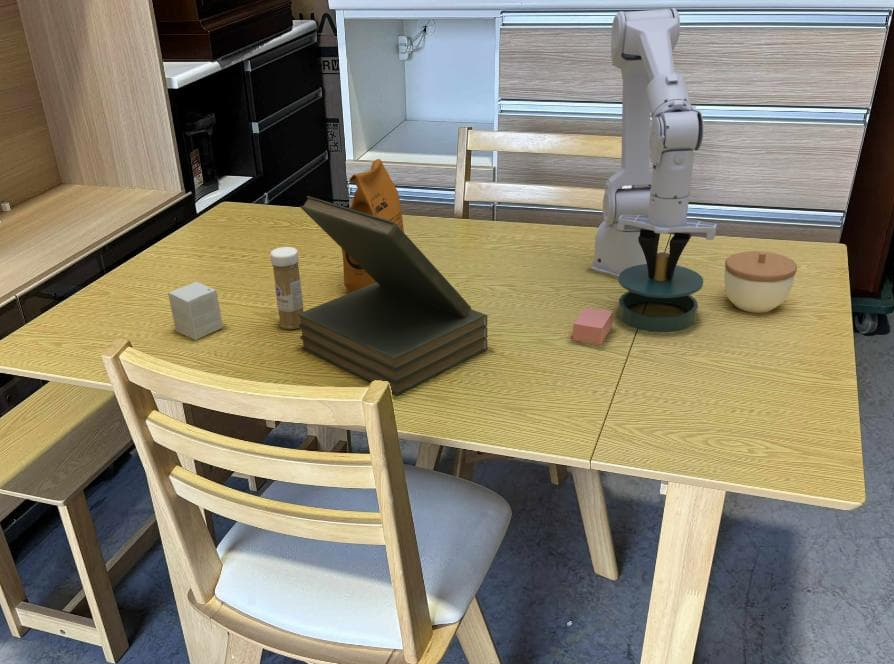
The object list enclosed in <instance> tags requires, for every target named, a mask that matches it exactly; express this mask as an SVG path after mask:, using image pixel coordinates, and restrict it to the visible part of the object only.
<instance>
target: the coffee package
mask: <svg viewBox="0 0 894 664" xmlns="http://www.w3.org/2000/svg"><path fill="white" fill-rule="evenodd" d="M349 182H350V183H355V186H356V190H355V192H354V195H353V198H352V202H351V205H350V207H349V208H350V209H353V210H356V211H359V212H363V213H366V214H369V215H373V216H376V217H379V218H382V219H386V220H389V221H392V222H395V223H396V224H397V225H398V226H399V228H400V229H401V230H402V231H403V232H404V233H405V228H404V219H403V211H402V205H401V199H400V196H399V191H398V190H397V186H396V185H395V182H394V181H393V180H392V178H391V175H390V174H389V172H388V170H387V168H386V167H385V166H384V164H383V161H382V159H381V158H376V159H375V160H373V161H372V163H371V165H370V170H367V171H363V172H358V173H354V174H352V175H351V177H349ZM341 252H342V253H341V254H342V264H343V265H342V266H343V285H344V287H345V289H346V290H347V292H348V293H351V292H353V291H356V290H358V289H361V288H363V287H366V286H368V285H371V284H373V283H375V282H376V281H375V280H374V279H373V278H372V277H371V276H370V275H369V274H368V273H367V272H366V271H365V270H364V269H363V268H362V267H361V266H360V265H359V264H357V263H356V262H355V261H354V260H353V259H352V258H351V257H350V256H349V255H348V254H347V253H346V252H345V251H344V250H343V249H342V248H341Z"/></svg>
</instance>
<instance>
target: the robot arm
mask: <svg viewBox="0 0 894 664" xmlns="http://www.w3.org/2000/svg"><path fill="white" fill-rule="evenodd" d="M680 31H681V16H680V14H679V12H678V11H677V9H676V8H675V7H670V8H666V9H665V8H664V9H651V10H649V9H648V10H637V11H618V12H617V13H616V14H615V16H614V17H613V20H612V27H611V33H610V34H611V35H610V37H611V38H610V43H611V44H610V59H611V65H612V67H615V68H617V69H619V70H620V73H621V79H622V98H621V99H622V101H621V103H622V105H621V107H622V108H621V109H622V110H621V156H620V157H621V160H620V161H621V163H620V164H621V165H620V169H619V170H617V172H615V173H614V174H613V175H611V176H610V177H609V178H608V179H607V180H606V181H605V184H604V194H603V199H602V215H603V216H602V217H603V221H602V222H601V223H600V225H599V226H598V228H597V231H596V234H595V238H594V251H593V252H594V254H593V266H591V267H590V268H591V269H592V270H596V271H600V272H603V273H605V274H610V275H613V276H616V277H619V275H620V273H621V272H622V271H623V270H625V269H627V268H629V267H633V266H636V265H642V264H647V268H648V277H649V278H653V277H654V268H655V258H656V254H657V253H658V249H659V243H660V237H661V235H673V236H672V237H671V238H670V240H669V253H668V254H669V264H668V269H667V275H666V280H671V279H672V277H673V275H674V271H675V267H676V265H677V264H678V262H679V260H680V257H681V255H682V253H683V252H684V249H685V248H686V246H687V245H688V243H689V242H690V240H691V238H692V237H694V238H704V239H706V240H708V241H714V239H715V238H716V234H717V233H716V232H717V227H718V224H717V223H714V222H707V221H701V220H698V219H693V218H688V209H689V202H690V195H691V194H690V193H691V187H692V186H691V184H692V175H693V168H694V162H695V152H697V151H699V150H700V149H701V146H702V143H703V139H704V132H705V129H704V128H705V127H704V126H705V125H704V117H703V113H702V111H701V110H700V109H699V108H697V106H696V105H692V103H691V99H690V96H689V92H688V88H687V85H686V81H685V79H684V77H683V76H682V75H681V74H679V73H676V70H675V64H674V57H673V51H675V48H676V45H677V44H678V42H679V38H680ZM651 121H652V122H651ZM650 146H651V147H650ZM650 150H651V151H650ZM694 151H695V152H694ZM650 162H651V163H652V169H650ZM645 185H646V186H645ZM628 186H645V187H628ZM621 187H622V188H621ZM623 187H624V188H623ZM625 187H626V188H625ZM627 187H628V188H627ZM677 266H678V265H677Z"/></svg>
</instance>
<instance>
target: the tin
mask: <svg viewBox="0 0 894 664" xmlns="http://www.w3.org/2000/svg"><path fill="white" fill-rule="evenodd" d="M641 303H643V304H644V303H662V304H663V303H664V304H671V305H674V306H677V307H680V308H682V309H684V310H686V311H687V312H685V313H681V314H678V315H670V316H655V315H648V314H643V313H639V312H636V311H634V310H631V309H630V308H628V307H630V306H634V305H636V304H641ZM698 310H699V304H698V300H697V299H696V298H695V297H694V296H693V295H692V294H691V295H687V296H682V297H675V298H656V297H648V296H643V295H639V294H635V293H632V292H630V291H628V290H627V291H626V292H624V293H623V294H621V296H620V297H619V298H618V309H617V318H619V320H620V321H621V323H623V324H625V325H627V326H628V327H630V328H633V329H636V330H639V331H644V332H651V333H672V332H679V331H682V330H685V329H688V328H690V327H692V326H693V325H694V324H695V323H696V320H697V318H698Z"/></svg>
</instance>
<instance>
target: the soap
mask: <svg viewBox="0 0 894 664" xmlns="http://www.w3.org/2000/svg"><path fill="white" fill-rule="evenodd" d="M613 317H614V311H613V310H606V309H599V308H593V307H592V308H591V307H584V308H583V310H582V312H581V313H580V314H579V316H578V317H577V318H576V320H575V321H574V323H573V327H572V341H576V342H581V343H582V342H583V343H587V344H593V345H594V344H595V345H602V344H603V342H604V341H605V339H606V338H607V336H608V334H610V333H609V332H610V331H611V330H612V328H613Z"/></svg>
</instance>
